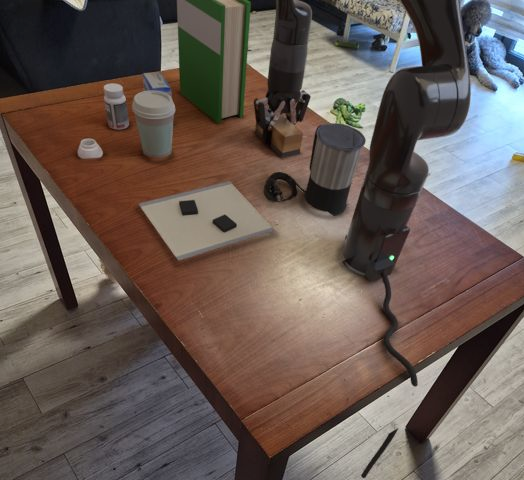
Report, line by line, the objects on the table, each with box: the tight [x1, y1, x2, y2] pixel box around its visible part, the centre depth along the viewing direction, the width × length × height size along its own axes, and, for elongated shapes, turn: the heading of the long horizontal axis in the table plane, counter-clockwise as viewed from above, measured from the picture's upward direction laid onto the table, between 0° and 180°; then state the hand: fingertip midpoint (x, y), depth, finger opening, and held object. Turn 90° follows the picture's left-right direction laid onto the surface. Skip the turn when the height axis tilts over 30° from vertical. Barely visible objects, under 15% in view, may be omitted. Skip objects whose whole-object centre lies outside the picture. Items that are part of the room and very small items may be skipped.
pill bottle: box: [103, 82, 130, 131], centre depth 105 cm, size 5×5×8 cm
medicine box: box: [142, 72, 173, 99], centre depth 109 cm, size 8×4×9 cm, turn 25°
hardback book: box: [176, 0, 252, 124], centre depth 110 cm, size 18×7×24 cm, turn 37°
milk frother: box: [263, 122, 367, 217], centre depth 92 cm, size 14×16×15 cm
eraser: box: [254, 110, 304, 159], centre depth 109 cm, size 12×5×5 cm, turn 32°
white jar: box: [77, 138, 104, 160], centre depth 98 cm, size 5×3×5 cm
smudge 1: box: [179, 200, 198, 216], centre depth 90 cm, size 4×3×1 cm
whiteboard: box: [138, 180, 276, 262], centre depth 89 cm, size 18×20×1 cm
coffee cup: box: [131, 90, 176, 159], centre depth 98 cm, size 8×9×12 cm
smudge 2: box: [213, 215, 237, 233], centre depth 88 cm, size 4×3×1 cm
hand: (277, 141), depth 111 cm, fingers closed on eraser, 5 cm apart
